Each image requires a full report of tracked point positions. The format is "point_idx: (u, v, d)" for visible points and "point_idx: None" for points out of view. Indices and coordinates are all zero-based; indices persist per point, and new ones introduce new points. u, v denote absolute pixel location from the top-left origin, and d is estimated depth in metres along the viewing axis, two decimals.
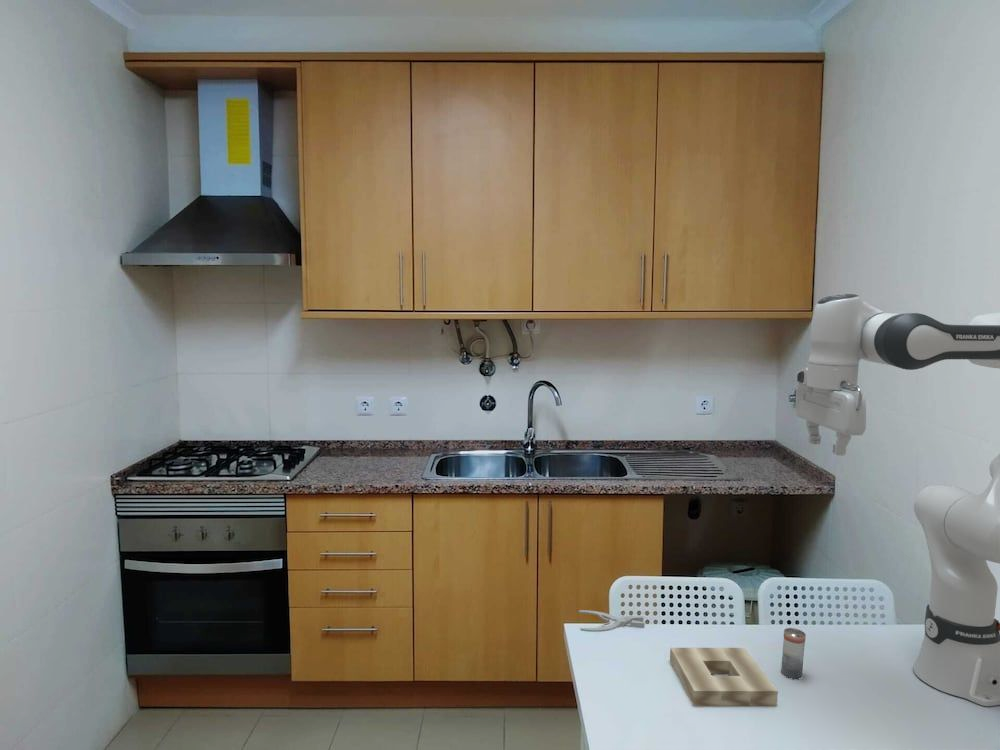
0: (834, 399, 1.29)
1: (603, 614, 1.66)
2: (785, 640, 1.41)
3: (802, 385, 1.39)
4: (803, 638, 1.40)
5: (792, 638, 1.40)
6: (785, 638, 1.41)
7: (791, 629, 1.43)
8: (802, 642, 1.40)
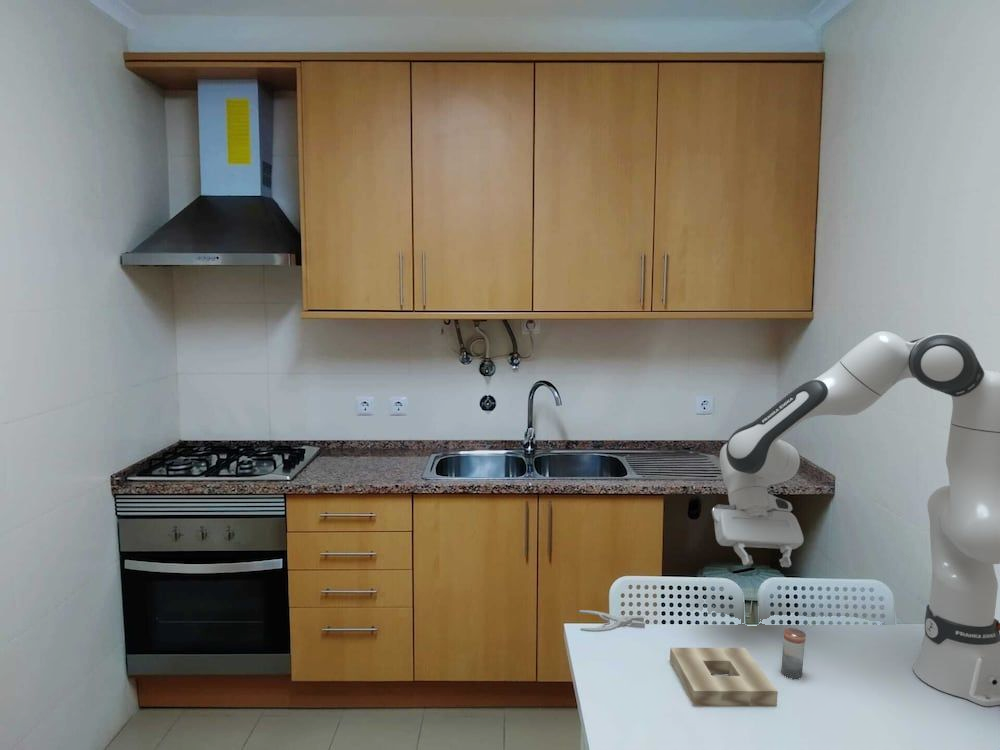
0: None
1: (603, 614, 1.66)
2: (785, 640, 1.41)
3: None
4: (803, 638, 1.40)
5: (792, 638, 1.40)
6: (785, 638, 1.41)
7: (791, 629, 1.43)
8: (802, 642, 1.40)
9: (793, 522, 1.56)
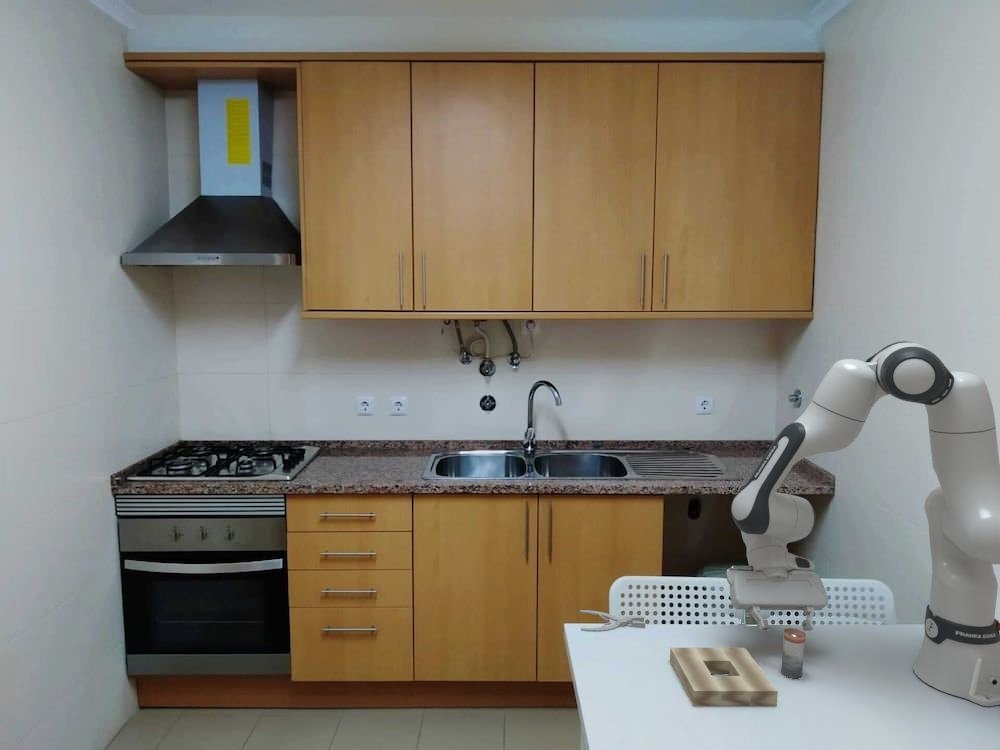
0: None
1: (604, 614, 1.66)
2: (785, 640, 1.41)
3: None
4: (803, 638, 1.40)
5: (792, 638, 1.40)
6: (785, 638, 1.41)
7: (791, 629, 1.43)
8: (802, 642, 1.40)
9: (816, 582, 1.49)
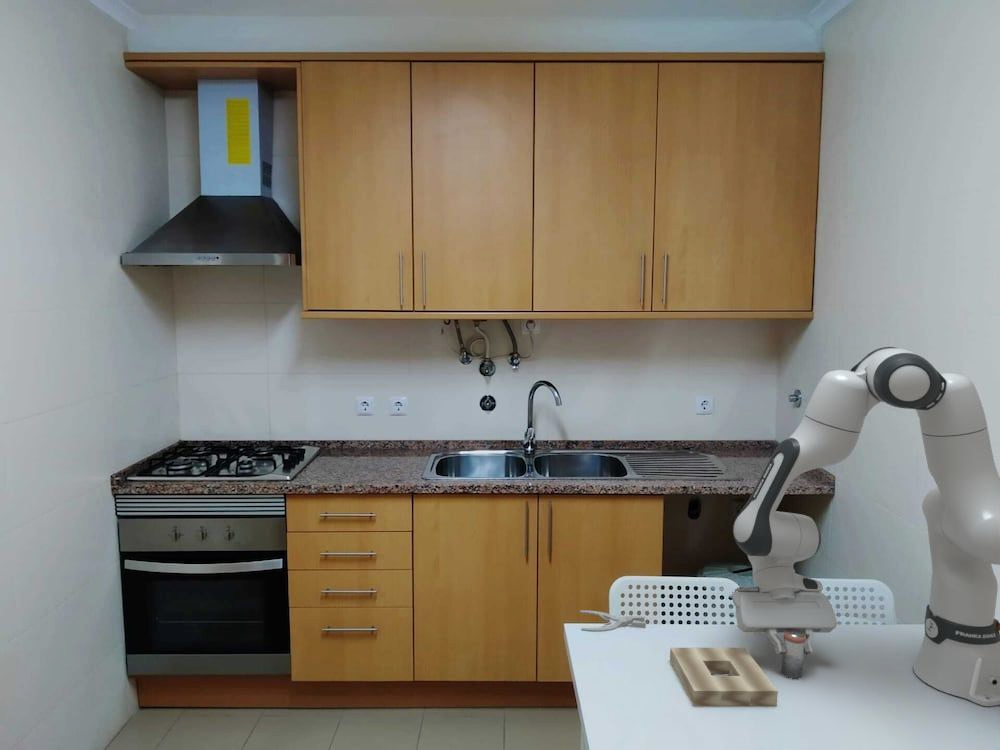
0: None
1: (604, 614, 1.66)
2: (785, 640, 1.41)
3: None
4: (803, 638, 1.40)
5: (792, 638, 1.40)
6: (785, 638, 1.41)
7: (791, 629, 1.43)
8: (802, 642, 1.40)
9: (824, 603, 1.46)
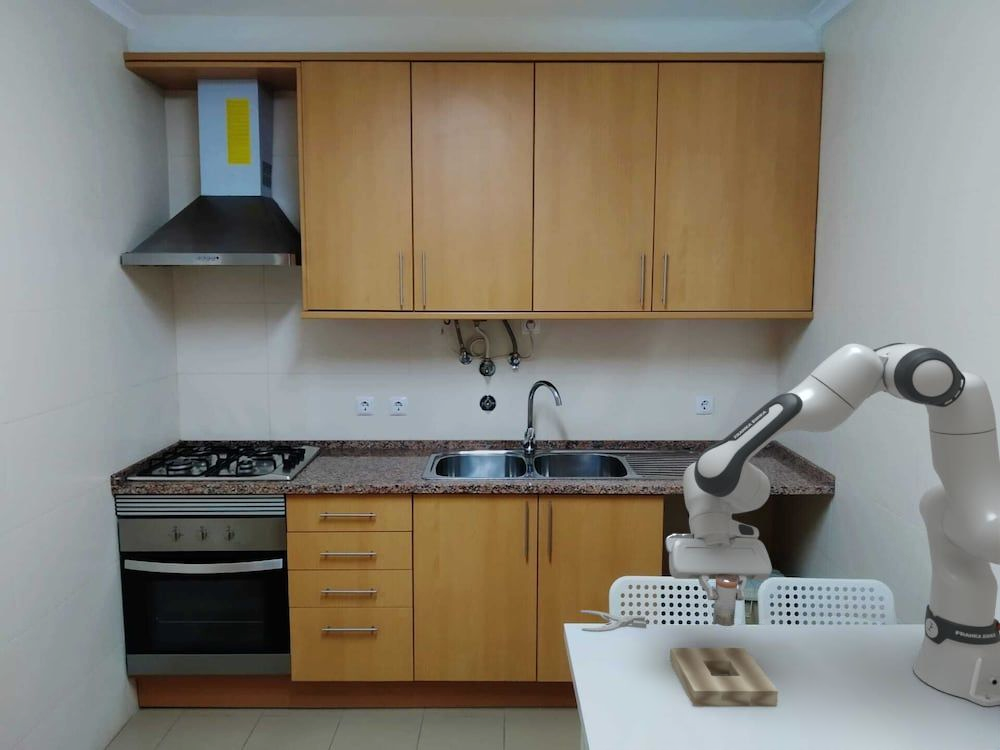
0: None
1: (605, 614, 1.66)
2: (717, 585, 1.36)
3: None
4: (735, 583, 1.35)
5: (723, 583, 1.35)
6: (717, 583, 1.36)
7: (724, 575, 1.38)
8: (734, 587, 1.35)
9: (760, 550, 1.41)
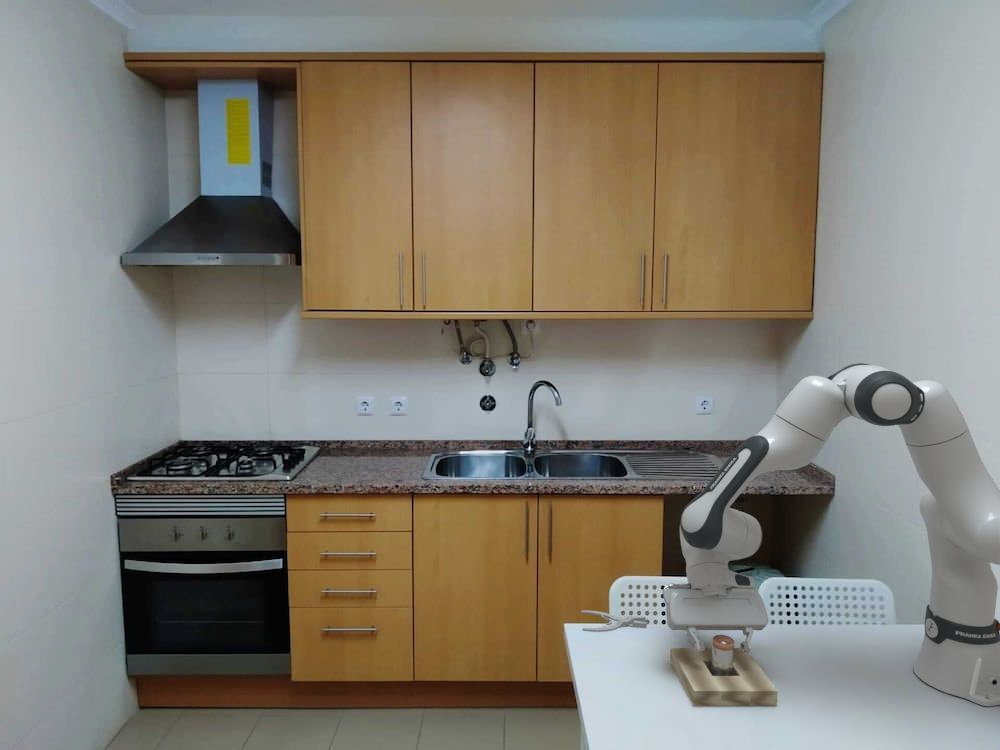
0: None
1: (605, 614, 1.66)
2: (713, 647, 1.38)
3: None
4: (731, 645, 1.36)
5: (719, 645, 1.36)
6: (713, 645, 1.38)
7: (720, 636, 1.39)
8: (730, 649, 1.36)
9: (756, 600, 1.42)
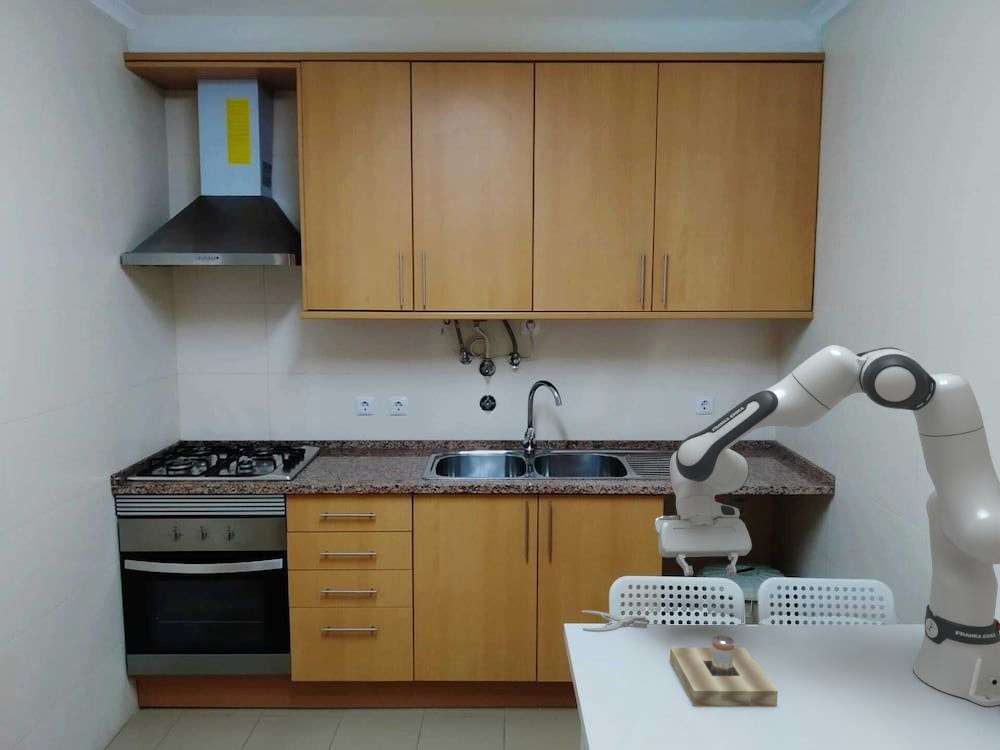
0: None
1: (606, 614, 1.66)
2: (713, 647, 1.38)
3: None
4: (731, 645, 1.36)
5: (719, 645, 1.36)
6: (713, 645, 1.38)
7: (720, 636, 1.39)
8: (730, 649, 1.36)
9: (740, 528, 1.54)
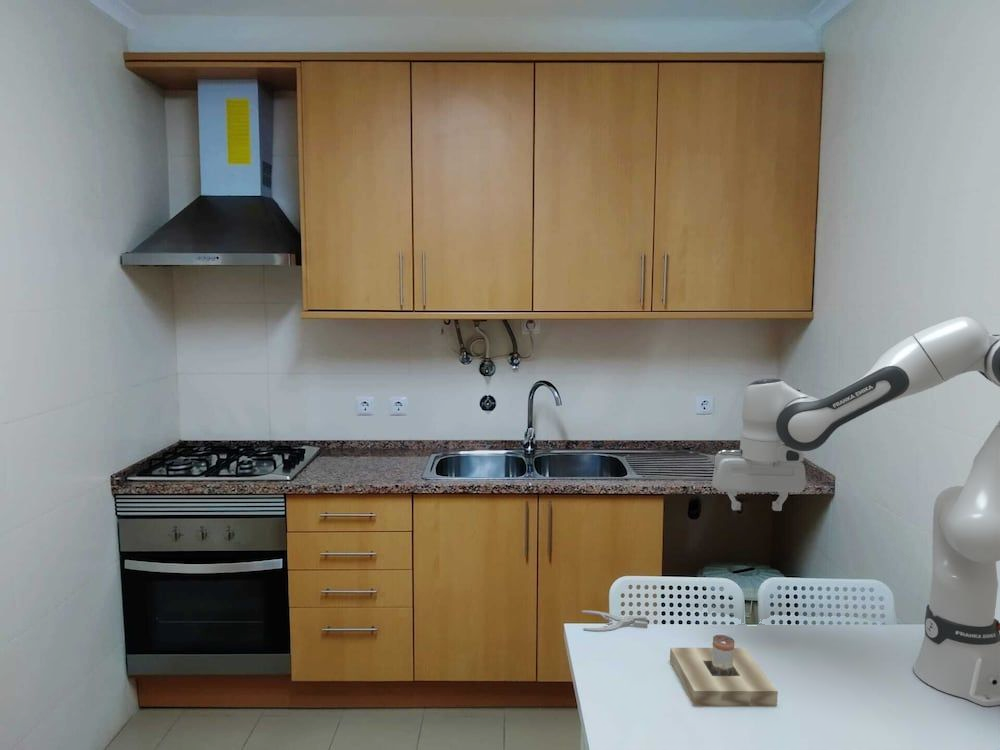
0: None
1: (606, 614, 1.66)
2: (714, 647, 1.38)
3: None
4: (731, 645, 1.36)
5: (720, 645, 1.36)
6: (714, 645, 1.38)
7: (721, 636, 1.39)
8: (730, 649, 1.36)
9: (799, 472, 1.54)
